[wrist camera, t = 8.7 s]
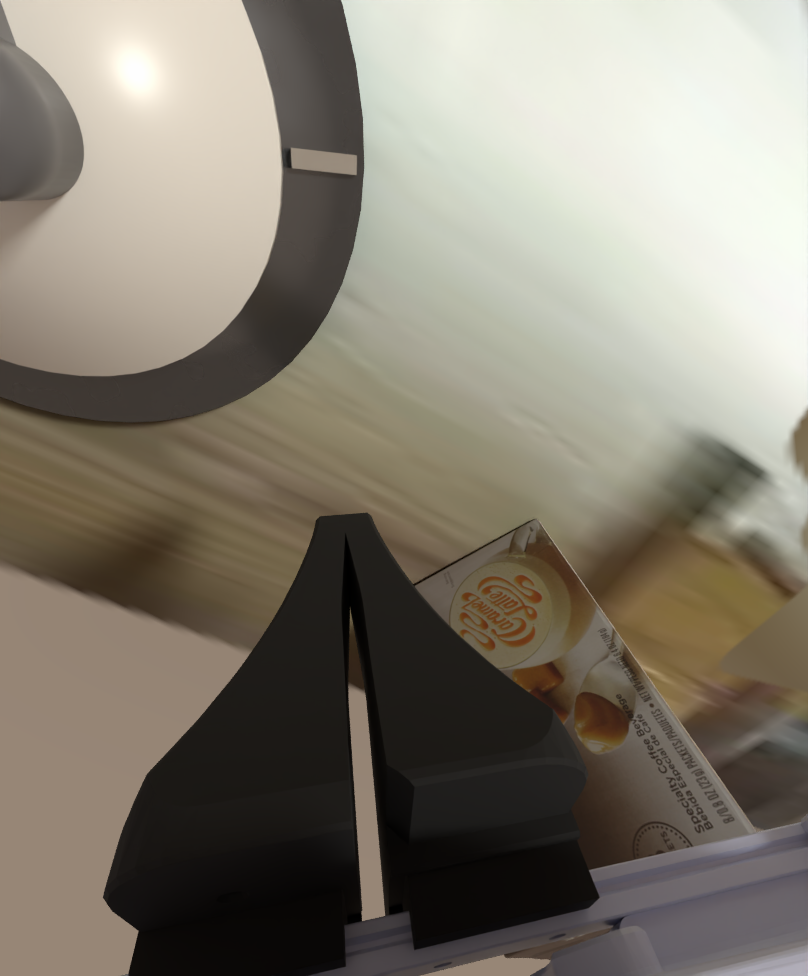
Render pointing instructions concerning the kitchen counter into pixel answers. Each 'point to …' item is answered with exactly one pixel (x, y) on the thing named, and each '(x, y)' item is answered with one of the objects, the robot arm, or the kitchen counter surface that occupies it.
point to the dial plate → (297, 249)
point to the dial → (131, 180)
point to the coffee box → (587, 703)
